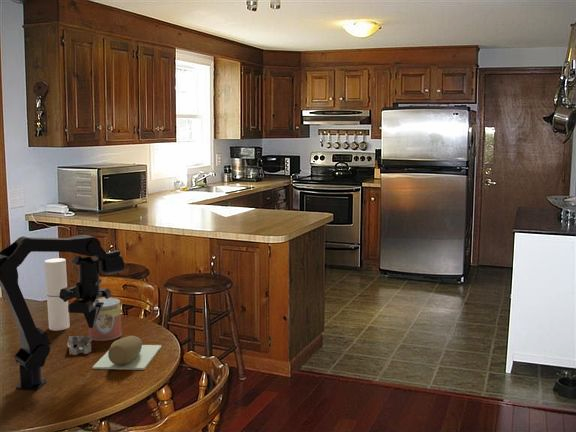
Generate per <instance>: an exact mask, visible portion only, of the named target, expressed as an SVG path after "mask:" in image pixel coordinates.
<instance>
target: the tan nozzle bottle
mask: <svg viewBox="0 0 576 432" xmlns="http://www.w3.org/2000/svg"><path fill="white" fill-rule="evenodd" d="M142 345H143V341H142V339H141V338H140V337H139V336H138V337H137V336H135V335H127V336H125V337H122V338H119V339H116V340H114V341H113V342H112V344H111V345H110V347H109V349H108V351H109V352H108V351H107V352H108V357H109V360H110V361H111V362H112V363H114V364H116V365H126V364H129V363H130V362H131V361H132V360H133V359H134V358H135V357H136V356H137V354H138V353H139V352H140V351H141V348H142Z"/></svg>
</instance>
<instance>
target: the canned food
mask: <svg viewBox="0 0 576 432" xmlns="http://www.w3.org/2000/svg"><path fill="white" fill-rule="evenodd" d="M98 300H99V302H103V303H104V304H103V306H102V308H101V311H100V313H99V315H98V318H97V320H96V323H95V325H94V327H93V328H89V326H88V325H87V326H88V328H87V329H88V336H90V337H91V339H92V341H104V342H105V341H112V340H115V339H118V338H120V337H122V334H123V333H122V318H121V317H122V315H121V314H122V312H121V300H120V299H119V298H116V297H115V298H114V297H110V298H108V299H106V298H105V297H100V298H99V299H98Z"/></svg>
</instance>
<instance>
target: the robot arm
mask: <svg viewBox="0 0 576 432" xmlns="http://www.w3.org/2000/svg"><path fill="white" fill-rule="evenodd" d="M33 252H34V253H35V252H38V253H40V252H42V253H45V252H46V253H56V252H57V253H59V252H60V253H73V254H76V255H75V257H74V258H73V259H71V261H70V262H71V264H73V265H75V266H78V279H79V280H78V281H76V283H75V285H74V286H71V287H68V286H67V287H66V288H64V289H61V290H60V293H59V294H60V296H59V298H61V299H62V300H63V301H64V302H66V301H68V302H69V301H70V300H72V299H75V300H73V301H71V302H70V303H68V312H69V314H82V315H83V316H84V318H85V320H86V323H87V326H89V328H93V327H94V325H95V323H96V320H97V318H98V315H99V313H100V311H101V308H102V306H103V304H104V303H103V302H99V300H98V299H100V298H106V299H108V298H112V296H111V295H112V293H111V290H110V289H109V288H108V287H100V284H101V283H102V282H103V279H102V278H100V273H101V274H102V275H103V276H105V275H111V274H117V273H118V274H119V273H122V272H123V271H124V269H125V262H124V260H123V256H122V255H121V251H120V250H112V251H107V252H106V251H105V250H104V248H103V247H102V245H101V241H100V240H99V238H97V237H95V236H91V235H88V234H79V235H78V234H77V235H74V236H70V237H65V238H64V237H63V238H61V237H27V236H20V237H18V238H17V239H16V240H14V242H12V243H10V244H9V245H8V246H6V247H4V248H3V249H2V250H0V288H1V290H2V293H3V295H4V297H5V300H6V302H7V305H8V307H9V309H10V312H11V314H12V316H13V318H14V321H15V323H16V325H17V327H18V330H19V343H20V348H19V350H18V351H17V352H16V353H14V356H13V359H14V361H15V363H17V364H19V365H18V368H19V370H18V371H19V382H20V383H19V384H17V385H16V386H15V390H32V391H33V390H35V391H36V390H38V389H40V388H41V387H42V386H43V385H44V384H46V382H47V381H48V379H47V378H42V368H43V367H44V366H45V363H46V361H47V358H48V356H49V354H50V352H51V345H52V342H51V341H50V340H49V336H48V333H47V331H46V330H43V329H42V328H40V327H39V326H36V324H35V321H34V319H33V317H32V316H33V315H32V314H31V312H30V310H29V307H28V304H27V302H26V300H25V297H24V294H23V292H22V291H21V288H20V285H19V272H18V267H20V265H21V264H23V262H24V261H25V260H26V258H27V257H28V255H29V254H30V253H33ZM77 254H78V255H77ZM80 255H82V256H83V257H81V256H80ZM93 257H94V258H93Z"/></svg>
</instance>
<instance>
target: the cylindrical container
mask: <svg viewBox="0 0 576 432" xmlns="http://www.w3.org/2000/svg"><path fill="white" fill-rule="evenodd" d="M66 262H67V260H66V258H61V257H59V258H58V257H57V258H56V257H54V258H49V259H45V260H44V271H45V272H44V273H45V287H46V301H47V302H46V303H47V318H48V329H49V330H50V331H63V330H67V329H69V328H70V323H71V322H70V313H69V312H68V305H69V300H68V301H66V302H64V301H63V300H62V299H61V298H59V296H60V294H59V293H60V290H61V289H64V288H66V287H67V288H68V276H67V263H66Z"/></svg>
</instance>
